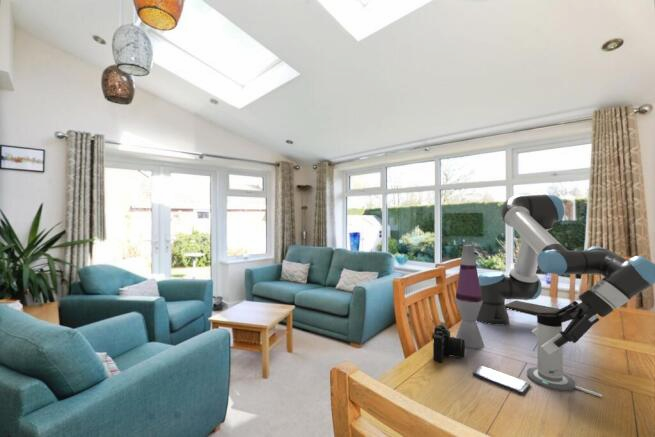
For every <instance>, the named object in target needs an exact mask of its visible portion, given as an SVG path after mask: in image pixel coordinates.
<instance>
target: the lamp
mask: <svg viewBox="0 0 655 437" xmlns="http://www.w3.org/2000/svg"><path fill="white" fill-rule="evenodd" d="M459 264H460V265H459V274H458V279H457V285H456V286H457V287H456V292H455V298H454V300H455V303H456V307H457V308H458V311H459V315H460V316H461V321H460V324H459V327H458V329H457V334H456V337H455V338H457V339H458V338H460V339H462V340H465V349H466V348H467V349H474V350H475V349H481V348H483V347H485V343H484V340H483V338H482V334H481V331H480V329H479V328H480V327H479V325H478V322H477V316H478V314H479V311H480V308H481V305H482V303H483V301H482V296H481V290H480V284H479V279H478V276H479V275H478V270H477V268H478V267H477V261H476V256H475V250H474V245H473V244H463V245H462V250H461V258H460V263H459Z"/></svg>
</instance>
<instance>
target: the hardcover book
mask: <svg viewBox="0 0 655 437" xmlns="http://www.w3.org/2000/svg"><path fill="white" fill-rule="evenodd" d="M505 308H509V309H512V310H511V311H514V310H516V311H515V312H518V311H520V312H519V313H523V312H524V313H523V314H529V315H533V316H537V314H541V313H553V312H555V311H557V310H559V309H560V308H557V307H552V306H546V305H541V304H536V303H531V302H526V301H521V300H512V301H511V302H509V303H505ZM509 309H508V310H509Z"/></svg>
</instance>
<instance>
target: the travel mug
mask: <svg viewBox="0 0 655 437" xmlns="http://www.w3.org/2000/svg"><path fill="white" fill-rule="evenodd" d="M536 318H537V319H536V328H537V336H536V339H537V340H536V341H537V342H536V344H537V347H536V348H537V349H536V350H537V353H536V355H537V367H538V375H539V376H540V377H542V378H544V379H546V380H549V381H554V382H560V381H562V380H563V375H562V374H564V373H563V372H564V371H563V370H564V369H563V364H564V363H563V346H562V347H560V348H559V349H557V350H556V351H554V352H553V353H551V354H550V355H549V354H548V353H547V352H546V351H545V350H544V349H543V348H542V347H541V346H542V345H543V344H545V343H546V342H548V341H549V340H550V339H552V338H553V337H555V336H556V335H558V334H559V332H563V323H561V322H562V318H563V315H560V314H556V313H541V314H537V315H536Z"/></svg>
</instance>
